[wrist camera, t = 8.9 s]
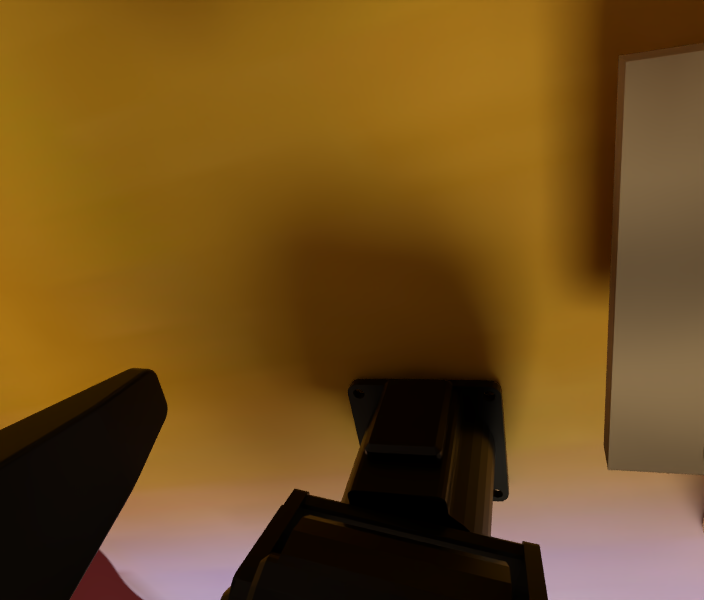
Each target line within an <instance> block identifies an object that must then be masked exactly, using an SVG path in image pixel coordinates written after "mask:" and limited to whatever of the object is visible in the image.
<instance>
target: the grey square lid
mask: <svg viewBox="0 0 704 600" xmlns="http://www.w3.org/2000/svg"><path fill="white" fill-rule="evenodd" d="M604 450H605V455H606V461H607V467H608V470H622V471H640V472H657V473H675V474H692V475H704V458H703V451H704V43H698V44H692V45H685V46H679V47H672V48H666V49H659V50H653V51H646V52H639V53H633V54H626V55H620V56H619V59H618V85H617V111H616V137H615V164H614V190H613V216H612V242H611V268H610V294H609V320H608V347H607V373H606V399H605V425H604Z"/></svg>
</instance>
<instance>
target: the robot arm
mask: <svg viewBox="0 0 704 600" xmlns="http://www.w3.org/2000/svg"><path fill="white" fill-rule="evenodd" d="M356 389H359V390H362V391H363V392H364V393H361V392H358V391H357V390H356ZM488 391H489V392H492V393H494V394H493V395H486V394H485V393H484V392H488ZM348 396H349V400H350V405H351V409H352V413H353V418H354V422H355V426H356V431H357V435H358V439H359V444H360V448H359V451H358V454H357V457H356V460H355V463H354V466H353V468H352V471H351V474H350V477H349V480H348V483H347V486H346V489H345V492H344V495H343V498H342V501H341V502H339V501H334V500H330V499H326V498H321V497H317V496H313V495H309V492H307V491H303V490H299V489H294V490H293V492H292V493H291V495H290V496H289V498H288V499H287V501H286V502H285V503H284V505H281V507H280V508H279V510H278V511H277V513H276V514H275V516H274V517H273V518H272V520H271V521H270V523H269V524H268V526H267V527H266V529H265V530H264V532H263V533H262V535H261V536H260V538H259V539H258V541H257V542H256V543H255V545H254V546H253V548H252V549H251V551H250V552H249V554H248V555H247V557H246V558H245V560H244V561H243V563H242V564H241V566H240V567H239V568H238V570H237V571H236V573H235V575H234V577H233V580H232V584H231V586H230V587H229V588H228V589H227V590H226V591H225V592H224V593H223V595H222V597H221V600H548V597H547V590H546V584H545V578H544V571H543V565H542V558H541V552H540V546H539V545H538V544H534V543H529V542H525V541H522V544H520V543H516V542H512V541H507V540H503V539H499V538H495V537H491V523H492V505H493V501H504V500H506V499H507V498H508V495H509V483H508V469H507V455H506V441H505V427H504V413H503V399H502V389H501V387H500V385H499V384H498V383H496V382H494V381H489V380H430V379H356V380H354V381H352V383H351V384H350V387H349V389H348ZM167 409H168V408H167V402H166V399H165V397H164V394H163V391H162V388H161V385H160V383H159V380H158V377H157V375H156V373H155V372H154V371H153V370H150V369H141V368H132V369H128V370H126V371H124V372H122V373H120V374H118V375H115V376H113V377H111V378H109V379H107V380H105V381H103V382H101V383H99V384H96V385H94V386H92V387H90V388H88V389H86V390H84V391H82V392H80V393H77V394H75V395H73V396H71V397H69V398H67V399H65V400H63V401H60V402H58V403H56V404H54V405H52V406H50V407H48V408H46V409H44V410H41V411H39V412H37V413H35V414H33V415H31V416H29V417H27V418H25V419H22V420H20V421H18V422H16V423H14V424H12V425H10V426H8V427H5V428H3V429H1V430H0V600H70V598H71V596H72V594H73V593H74V591H75V589H76V588H77V586H78V584H79V582H80V581H81V579H82V577H83V575H84V574H85V572H86V570H87V569H88V567H89V565H90V563H91V562H92V560H93V558H94V556H95V555H96V553H97V551H98V550H99V548H100V546H101V544H102V543H103V541H104V539H105V537H106V536H107V534H108V532H109V531H110V529H111V527H112V525H113V524H114V522H115V520H116V518H117V517H118V515H119V513H120V511H121V510H122V508H123V506H124V505H125V503H126V501H127V499H128V497H129V496H130V494H131V492H132V490H133V488H134V486H135V484H136V482H137V480H138V478H139V476H140V473H141V471H142V469H143V467H144V465H145V463H146V460H147V458H148V456H149V454H150V452H151V449H152V447H153V445H154V443H155V441H156V438H157V436H158V434H159V432H160V430H161V428H162V425H163V423H164V421H165V419H166V416H167ZM703 458H704V451H703ZM496 489H497V490H500V491H497V490H496Z"/></svg>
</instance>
